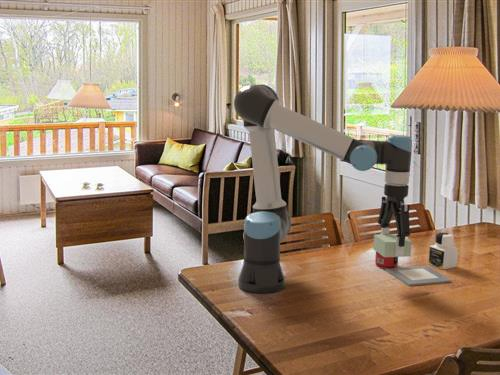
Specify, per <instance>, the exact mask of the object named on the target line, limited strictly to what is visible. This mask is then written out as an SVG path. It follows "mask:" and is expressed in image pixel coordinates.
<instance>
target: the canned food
mask: <svg viewBox="0 0 500 375" xmlns="http://www.w3.org/2000/svg"><path fill="white" fill-rule="evenodd" d="M374 262H375V265H376V267H379V268H380V269H381V268H382V269H385V270H386V269H389V268H398V264H399V257H383V256H382V255H380V254H379V253H378V252H376V251H375V260H374Z"/></svg>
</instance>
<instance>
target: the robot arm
mask: <svg viewBox="0 0 500 375" xmlns="http://www.w3.org/2000/svg"><path fill="white" fill-rule="evenodd" d="M233 107H234V110H235V112H236V114H237V115H238V117H239V118H240V119H242V122H243V128H244V129H245V130H246V131H247V132H248V136H249V144H250V146H249V147H250V152H251V163H252V172H253V181H254V182H253V183H254V192H255V199H256V201H255V203H254V204H253V205H252V213H249V214H248V215H246V217H245V218H244V223H243V264H242V267H241V270H240V272H239V276H238V280H237V281H238V282H237V283H238V287H239V288H240V289H241V290H242V291H246V292H248V293H256V294H271V293H275V292H280V291H281V290H283V289H284V288H285V284H286V283H285V282H286V280H285V277H284V276H285V275H284V273H283V270H282V266H281V261H280V260H281V259H280V258H281V256H280V255H281V243H282V242H283V240H284V239H285V238H286V237H287V236H288V235H289V233H290V231H291V226H292V220H291V216H290V215H289V212H288V207H287V202H286V201H285V200H284V199H282V192H281V182H280V181H281V180H280V174H279V173H280V172H279V171H280V170H279V161H278V152H277V142H276V134H275V133H276V132H275V130H276V131H277V132H278V133H279V132H280V133H281V134H284V135H286V136H288V137H291V138H293V139H295V140H297V141H299V142H301V143H303V144H306V145H308V146H311V147H312V148H315V149H316V150H319V151H321V152H324V153H325V154H328V155H330V156H332V157H335V158H336V159H339V160H341V161H343V162H345V163H347V164H349V165H351V166H352V167H353V168H354V169H355V170H357V171H360V172H366V171H369V170H371V169H372V168H373V167H374V166H375V165H381V166H382V165H385V173H384V174H385V176H384V182H385V184H384V189H383V194H384V196H381V205H380V209H379V210H380V211H379V215H378V220H377V224H378V225H379V226H380V228H381V229H380V234H390V231H391V230H390V229H391V225H390V223H391V221H392V218H393V217H394V218H395V219H394V220H395V225H396V232H397V234H398V235H396V245H395V256H403V255H404V245H405V238H407V237H409V236H410V235H411V232H410V228H411V227H410V207H411V206H410V204H406V203H405V198H408V196H409V185H408V184H410V176H411V174H410V172H411V162H412V152H413V151H412V150H413V149H412V148H413V139H412V138H411V137H410V135H409V136H408V135H402V134H391V135H389V136H387V140H368V139H362V138H359V139H356V138H354V137H351V136H349V135H347V134H344V133H343V132H341V131H339V130H336V129H334V128H332V127H329V126H327V125H325V124H323V123H321V122H318V121H316V120H314V119H312V118H310V117H307V116H306V115H303V114H301V113H299V112H297V111H294V110H292V109H290V108H288V107H286V106H283V105H281V104H280V98H279V96H278V94H277V92H276V91H275V90H274V89H273V88H271V87H270V86H269V85H266V84H248V85H246V86H243V87H242V88H240V89H239V90H238V91H237V92H236V94H235V96H234V101H233Z"/></svg>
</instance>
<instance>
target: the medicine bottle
mask: <svg viewBox="0 0 500 375" xmlns="http://www.w3.org/2000/svg"><path fill="white" fill-rule="evenodd" d="M453 245H454V235H453V234H451V233H448V232H439V233H436V234H435V244H433V245H429V254H428V255H429V256H428V265H429V266H432V267H435V268H437V269H441V270H447V269H454V268H456V267H457V266H458V256H459V254H458V253H459V248H458V247H455V246H453Z"/></svg>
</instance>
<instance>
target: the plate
mask: <svg viewBox="0 0 500 375" xmlns="http://www.w3.org/2000/svg"><path fill="white" fill-rule="evenodd" d="M385 271H386V272H387V273H389V274H390V275H392V276H393V277H395V278H397V279H398V280H399V281H401V282H402V283H404V284H405V285H407V286H409V287H412V286H421V285H431V284H433V285H434V284H444V283H452V281H453V280H452V279H451V278H449V277H447V276H445V275H443V274H442V273H440V272H439V271H437V270H435V269H433V268H431V267H430V266H428V265H426V264H425V265H416V266H414V265H413V266H405V267H404V266H403V267H396V268H389V269H386V268H385Z"/></svg>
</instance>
